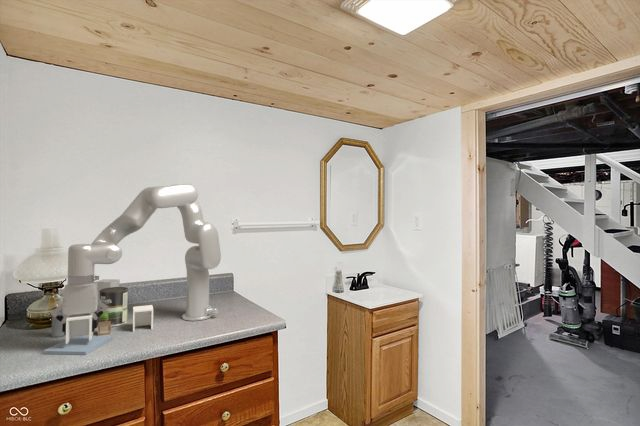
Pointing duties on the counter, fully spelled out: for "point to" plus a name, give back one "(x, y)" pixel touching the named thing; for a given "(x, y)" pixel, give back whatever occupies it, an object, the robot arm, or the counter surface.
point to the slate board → (78, 345)
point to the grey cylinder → (57, 325)
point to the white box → (79, 326)
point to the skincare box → (106, 286)
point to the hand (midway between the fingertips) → (80, 331)
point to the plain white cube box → (142, 316)
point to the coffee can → (114, 305)
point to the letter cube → (104, 328)
